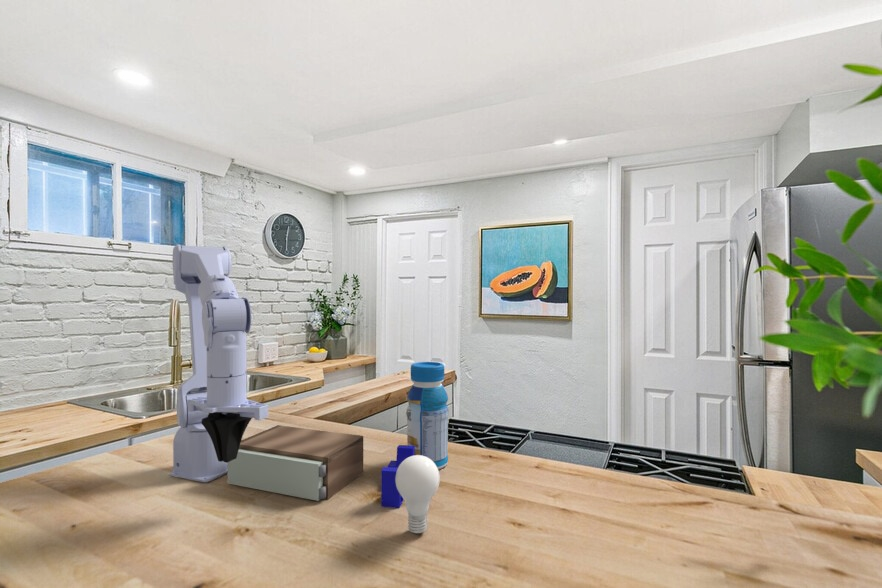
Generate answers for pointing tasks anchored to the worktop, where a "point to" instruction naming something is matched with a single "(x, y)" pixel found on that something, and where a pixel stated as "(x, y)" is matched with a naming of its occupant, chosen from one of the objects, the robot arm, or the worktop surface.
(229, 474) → the cabinet door
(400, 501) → the cable clip
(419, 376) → the beverage bottle
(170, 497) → the worktop surface
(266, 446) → the cabinet
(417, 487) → the lightbulb
